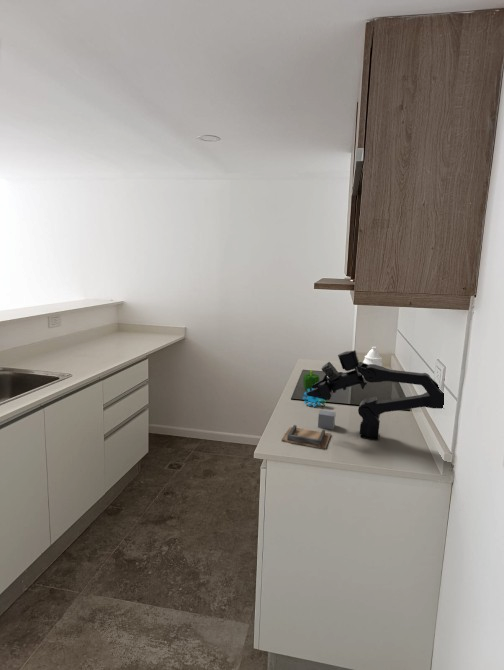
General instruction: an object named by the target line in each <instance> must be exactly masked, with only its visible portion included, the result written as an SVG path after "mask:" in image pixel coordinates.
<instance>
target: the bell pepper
mask: <svg viewBox="0 0 504 670" xmlns="http://www.w3.org/2000/svg"><path fill="white" fill-rule="evenodd" d="M309 372H310V373H307V372H306V373H304V376H303V377H302V383H303V387H304V389H305V390H306V391H307V389H310V391H312V387H311V386H312V385H314V384H315V383H317V382H319V381H320V376H319V374H314V373H313V369H309Z"/></svg>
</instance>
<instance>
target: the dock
mask: <svg viewBox="0 0 504 670" xmlns="http://www.w3.org/2000/svg"><path fill="white" fill-rule="evenodd" d="M331 435H332V433H329V432H326V429H322V430H321V431H319V430H318V431H317V430H312V429H307V428H306V429H304V428H300V427H297V425H296V424H293V426H289V428H288V429H287V430H286V432H285V433H284V435H283V437H282V438H281V442H285V443H289V444H290V443H291V444H297V445H300V446H302V445H303V446H308V447H312V448H319V449H323V450H326V448H327V446H328V443H329V440H330V438H331Z"/></svg>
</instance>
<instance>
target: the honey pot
mask: <svg viewBox="0 0 504 670" xmlns="http://www.w3.org/2000/svg"><path fill="white" fill-rule="evenodd" d="M382 360H383V356H380V353H379V352H378V349H377V346H371V349H370V350H369V351H368V352H367V354H365V355H364V359H363V361H362V363H365V364H368V365H369V364H375V365H378V366H382V367H383V363H382V362H383V361H382Z"/></svg>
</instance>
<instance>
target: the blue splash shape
mask: <svg viewBox="0 0 504 670" xmlns="http://www.w3.org/2000/svg"><path fill="white" fill-rule="evenodd" d="M312 390H314V388H312ZM312 390H311V391H312ZM306 391H307V392H306ZM306 391H305V392H304V393H303V395H304V396H302V400H304V401H303V402H304V404H305V405H306V404H307V406H308V407H311V406H312V407H313V408H316V406H326V403H327V401H328V400H326V401H325V400H323V399H321V398H317V397H311V396H307V394H306V393H308V392H309V391H310V389H307V390H306ZM321 404H322V405H321Z"/></svg>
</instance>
